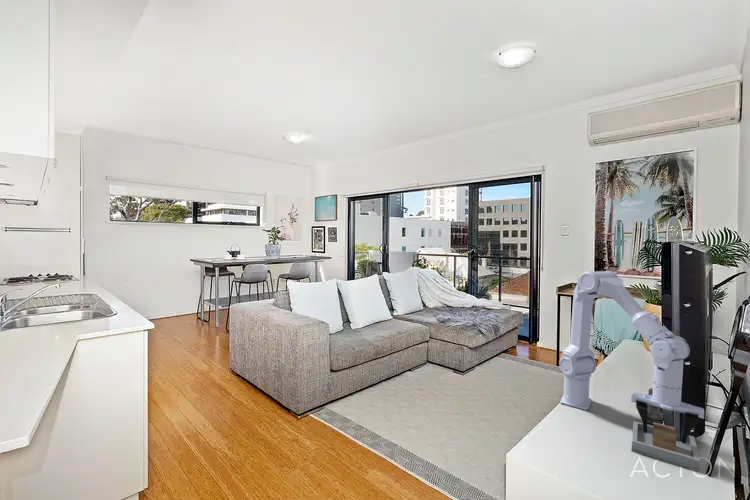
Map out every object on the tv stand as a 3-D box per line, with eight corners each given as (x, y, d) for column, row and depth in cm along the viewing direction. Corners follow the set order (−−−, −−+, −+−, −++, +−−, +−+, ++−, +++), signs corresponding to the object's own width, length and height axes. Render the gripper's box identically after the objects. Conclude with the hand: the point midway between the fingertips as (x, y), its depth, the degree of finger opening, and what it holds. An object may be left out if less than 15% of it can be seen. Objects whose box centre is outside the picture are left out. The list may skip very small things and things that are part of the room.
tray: (632, 429, 104) (633, 420, 104) (693, 446, 97) (694, 436, 97) (631, 450, 94) (632, 441, 94) (699, 471, 86) (700, 460, 86)
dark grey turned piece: (654, 433, 103) (657, 390, 102) (634, 422, 108) (637, 382, 108) (670, 431, 104) (673, 389, 103) (650, 420, 110) (652, 380, 109)
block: (652, 438, 98) (653, 422, 98) (673, 444, 96) (675, 427, 95) (652, 446, 95) (653, 429, 94) (675, 452, 92) (676, 435, 92)
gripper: (632, 381, 95) (629, 433, 96) (707, 397, 87) (703, 454, 88) (632, 373, 101) (630, 422, 102) (703, 387, 93) (699, 440, 93)
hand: (663, 436), depth 95 cm, fingers open, 7 cm apart
